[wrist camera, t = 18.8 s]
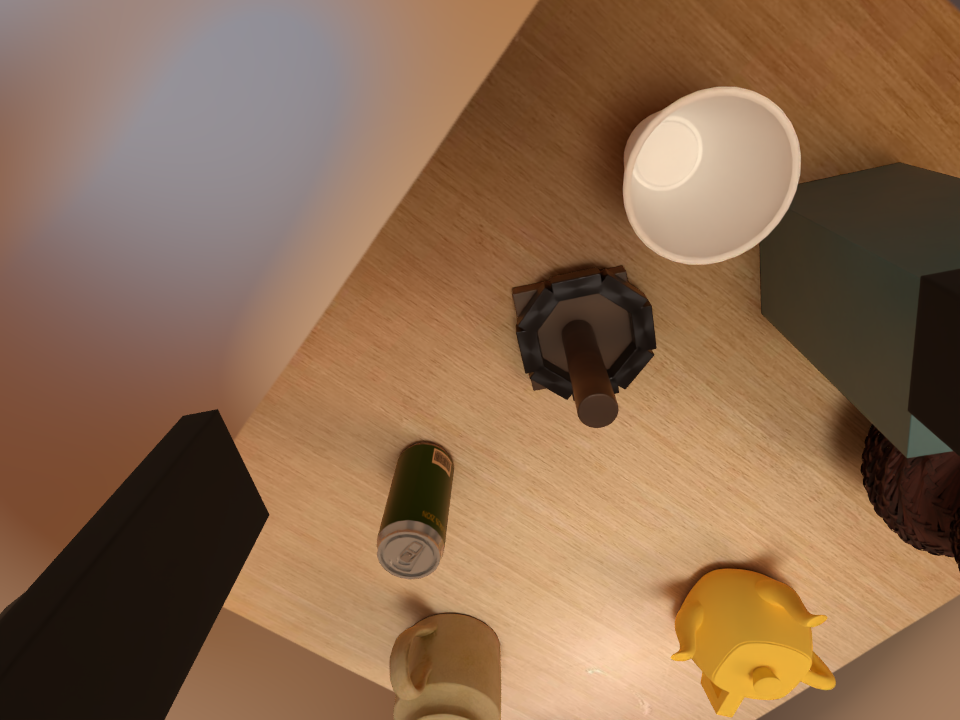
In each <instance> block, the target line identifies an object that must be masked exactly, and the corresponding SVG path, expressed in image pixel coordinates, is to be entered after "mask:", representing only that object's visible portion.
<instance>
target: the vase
mask: <svg viewBox="0 0 960 720" xmlns="http://www.w3.org/2000/svg"><path fill="white" fill-rule="evenodd" d="M878 434H879V435H878ZM888 446H889V447H890V448H888ZM862 461H863V463H862V465H861V473H862V472H863V473H862V475H863V477H864V478H863V485H864V487H865V486H866V487H865V489H866V490H867V493H868V497H869V500H870V502H871V504H872V505H873V506H874V510H875V512H876V513H877V515H879V516H880V517H882V518H883V520H884V522H885V523H886V524H887V525H888V527H889V528H890V529H891V530H892V529H893V530H894V531H893V530H892V531H893V532H895V533H897V534H898V536H899V537H900V538H901V539H902V540H903V541H904V542H905V543H908V544H911V545H912V546H913V547H914V548H916V549H918V550H921V549H924V550H923V551H928V553H930V554H933V555H938V556H939V555H945V556H947V557H955V561H956V562H957V564H958V568H959V571H960V456H958V455H957V454H956V453H955V452H954V451H951V452H944V453H938V454H931V455H924V456H918V457H911V458H906V457H905V456H904V455H903V454H902V453H901V452H900V451H899V450H898V449H897V448H896V447H895V446H894V445H893V444H892V443H891V442H890V441H889V440H888V439H887V438H886V437H885V436H884V435H883V434H882V433H881V432H880V431H879V430H878V429H877V428H876V427H875V426H874V425H873V424H872V425H871V427H870V429H869V431H868V436H867V437H866V439H865V448H864V451H863V454H862ZM894 475H895V476H894ZM897 502H898V503H897Z"/></svg>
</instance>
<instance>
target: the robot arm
mask: <svg viewBox="0 0 960 720" xmlns="http://www.w3.org/2000/svg"><path fill="white" fill-rule="evenodd" d="M908 412H909V413H910V414H912V415H913V416H914V417H915V418H916V419H917V420H918V421H920V422H921V423H922V424H923V425H924V426H925V427H926V428H928V429H929V430H930V431H931V432H932V433H933V434H934V435H936V436H937V437H938V438H939V439H940V440H941V441H942V442H944V443H945V444H946V445H947V446H948V447H949V448H950V449H952V450H953V451H954V452H955V453H956V454H957V455H958V456H960V269H955V270H950V271H944V272H939V273H934V274H929V275H923V276H921V277H920V288H919V298H918V308H917V318H916V329H915V339H914V349H913V359H912V370H911V380H910V390H909V400H908ZM268 516H269V513H268V511H267V509H266V507H265V505H264V503H263V501H262V499H261V497H260V495H259V493H258V490H257V488H256V486H255V484H254V482H253V480H252V478H251V476H250V474H249V472H248V470H247V468H246V466H245V464H244V462H243V460H242V458H241V456H240V454H239V452H238V450H237V448H236V446H235V443H234V441H233V439H232V437H231V435H230V433H229V432H228V429H227V427H226V425H225V423H224V421H223V419H222V417H221V415H220V413H219V411H218V409H217V410H212V411H206V412H201V413H196V414H190V415H186V416H182V418H181V419H180V420H179V421H178V422H177V423H176V424H175V425H174V426H173V428H172V429H171V430H170V431H169V432H168V433H167V434H166V435H165V436H164V438H163V439H162V440H161V441H160V442H159V443H158V444H157V445H156V447H155V448H154V449H153V450H152V451H151V452H150V453H149V454H148V455H147V457H146V458H145V459H144V460H143V461H142V462H141V463H140V465H139V466H138V467H137V468H136V469H135V470H134V471H133V472H132V473H131V475H130V476H129V477H128V478H127V479H126V480H125V481H124V482H123V484H122V485H121V486H120V487H119V488H118V489H117V490H116V491H115V493H114V494H113V495H112V496H111V497H110V498H109V499H108V500H107V501H106V503H105V504H104V505H103V506H102V507H101V508H100V509H99V510H98V511H97V513H96V514H95V515H94V516H93V517H92V518H91V519H90V520H89V522H88V523H87V524H86V525H85V526H84V527H83V528H82V529H81V530H80V532H79V533H78V534H77V535H76V536H75V537H74V538H73V539H72V541H71V542H70V543H69V544H68V545H67V546H66V547H65V548H64V549H63V551H62V552H61V553H60V554H59V555H58V556H57V557H56V558H55V559H54V561H53V562H52V563H51V564H50V565H49V566H48V567H47V568H46V570H45V571H44V572H43V573H42V574H41V575H40V576H39V577H38V578H37V580H36V581H35V582H34V583H33V584H32V585H31V586H30V587H29V589H28V590H27V591H26V592H25V593H24V594H22V595H21V596H20V597H18V598H17V599H16V600H15V601H14V602H12V603H11V604H10V605H8V607H6V608H5V609H4V610H3V612H2V613H1V614H0V720H165V718H166V716H167V714H168V712H169V710H170V708H171V706H172V704H173V702H174V700H175V698H176V696H177V694H178V692H179V690H180V688H181V686H182V684H183V682H184V681H185V679H186V677H187V675H188V673H189V671H190V669H191V667H192V665H193V663H194V661H195V659H196V657H197V655H198V653H199V651H200V649H201V647H202V645H203V643H204V641H205V640H206V637H207V636H208V634H209V632H210V630H211V628H212V626H213V624H214V622H215V620H216V618H217V616H218V614H219V612H220V610H221V608H222V606H223V604H224V602H225V600H226V599H227V597H228V595H229V593H230V591H231V589H232V587H233V585H234V583H235V581H236V579H237V577H238V575H239V573H240V571H241V569H242V567H243V565H244V563H245V561H246V559H247V558H248V556H249V554H250V552H251V550H252V548H253V546H254V544H255V542H256V540H257V538H258V536H259V534H260V532H261V530H262V528H263V526H264V524H265V522H266V520H267V518H268Z"/></svg>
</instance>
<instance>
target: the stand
mask: <svg viewBox="0 0 960 720" xmlns="http://www.w3.org/2000/svg"><path fill="white" fill-rule="evenodd" d="M955 269H960V178H957V177H953V176H949V175H945V174H942V173H938V172H934V171H930V170H926V169H923V168H919V167H915V166H911V165H908V164H904V163H895V164H891V165H886V166H881V167H877V168H872V169H867V170H863V171H858V172H853V173H849V174H844V175H839V176H835V177H830V178H825V179H821V180H816V181H811V182H807V183H802V184H798V185H797V190H796V193H795V195H794V197H793V200H792V202H791V204H790V207H789V208H788V210H787V212H786V213H785V215H784V216H783V218H782V219H781V221H780V222H779V224H778V225H777V226H776V227H775V228H774V229H773V230H772V231H771V232H770V233H769V235H768V236H767V237H765V238H764V239H763V240H762V241H760V274H761V313H762V315H763V316H764V317H765V318H766V319H767V320H768V321H769V322H770V323H772V324H773V325H774V326H775V327H776V328H777V329H778V330H779V331H780V332H781V333H782V334H783V335H784V336H785V337H786V338H787V339H788V340H789V341H790V342H791V343H792V344H793V345H794V346H795V347H796V348H797V349H798V350H799V351H800V352H801V353H802V354H803V355H804V356H805V357H806V358H807V359H808V360H809V361H810V362H811V363H812V364H813V365H814V366H815V367H816V368H817V369H818V370H819V371H820V372H821V373H822V374H823V375H824V376H825V377H826V378H827V379H828V380H829V381H830V382H831V383H832V384H833V385H834V386H835V387H836V388H837V389H838V390H839V391H840V392H841V393H842V394H843V395H844V396H845V397H846V398H847V399H848V400H849V401H850V402H851V403H852V404H853V405H854V406H855V407H856V408H857V409H858V410H859V411H860V412H861V413H862V414H863V415H864V416H865V417H866V418H867V419H868V420H869V421H870V422H871V423H872V424H873V425H874V426H875V427H876V428H877V429H878V430H879V431H880V432H881V433H882V434H883V435H884V436H885V437H886V438H887V439H888V440H889V441H890V442H891V443H892V444H893V445H894V446H895V447H896V448H897V449H898V450H899V451H900V452H901V453H902V454H903V455H904V456H905V457H906V458H911V457H918V456H924V455H931V454H938V453H944V452H951V451H953V450H952V449H950V448H949V447H948V446H947V445H946V444H945V443H944V442H942V441H941V440H940V439H939V438H938V437H937V436H936V435H934V434H933V433H932V432H931V431H930V430H929V429H928V428H926V427H925V426H924V425H923V424H922V423H921V422H920V421H918V420H917V419H916V418H915V417H914V416H913V415H912V414H910V413H909V412H908V400H909V390H910V380H911V370H912V359H913V349H914V339H915V329H916V318H917V308H918V298H919V288H920V277H921V276H923V275H929V274H934V273H939V272H944V271H950V270H955Z"/></svg>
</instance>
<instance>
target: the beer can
mask: <svg viewBox="0 0 960 720" xmlns="http://www.w3.org/2000/svg"><path fill="white" fill-rule="evenodd" d="M453 472H454V466H453V462H452V460H451V458H450V457H449V455H448V453H447V452H446V451H445V450H444V449H443V448H442V447H440V446H438V445H436V444H433V443H427V442H423V443H416V444H414V445H412V446H410V447H408V448H407V449H406V450H405V451H404V452H403V453H401V455H400V457H399V459H398V461H397V465H396V469H395V473H394V476H393V480H392V484H391V488H390V492H389V496H388V499H387V503H386V507H385V511H384V515H383V518H382V522H381V526H380V530H379V534H378V538H377V549H378V552H377V557H378V560H379V563H380V564H381V565H382V567H383V568H384V569H385V570H386V571H388V572H389V573H391V574H392V575H394V576H397V577H400V578H405V579H419V578H422V577H425V576H428V575H430V574H431V573H432V572H434V571H435V570H436V568H437V567H438V565H439V562H440V559H441V558H442V556H443V553H444V547H445V539H446V530H447V522H448V514H449V505H450V497H451V489H452V480H453Z"/></svg>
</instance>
